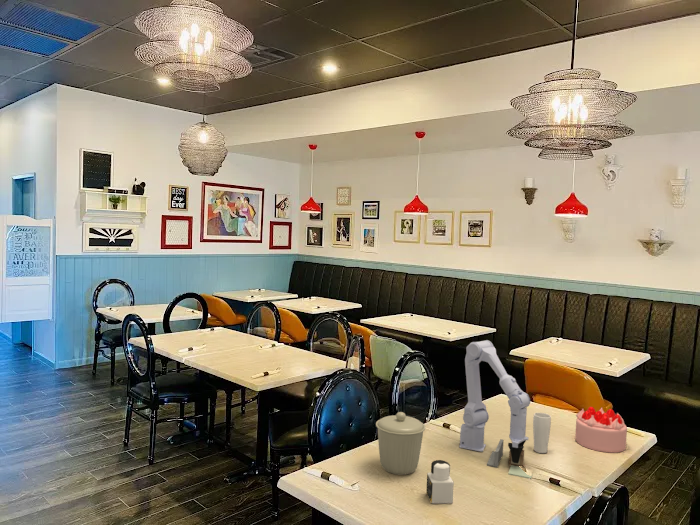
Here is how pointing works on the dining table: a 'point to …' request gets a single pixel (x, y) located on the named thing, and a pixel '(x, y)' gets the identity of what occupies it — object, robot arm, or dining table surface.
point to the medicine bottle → (440, 483)
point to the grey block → (496, 455)
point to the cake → (601, 430)
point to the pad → (518, 472)
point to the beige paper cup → (541, 431)
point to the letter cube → (519, 459)
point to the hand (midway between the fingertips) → (516, 459)
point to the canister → (399, 443)
